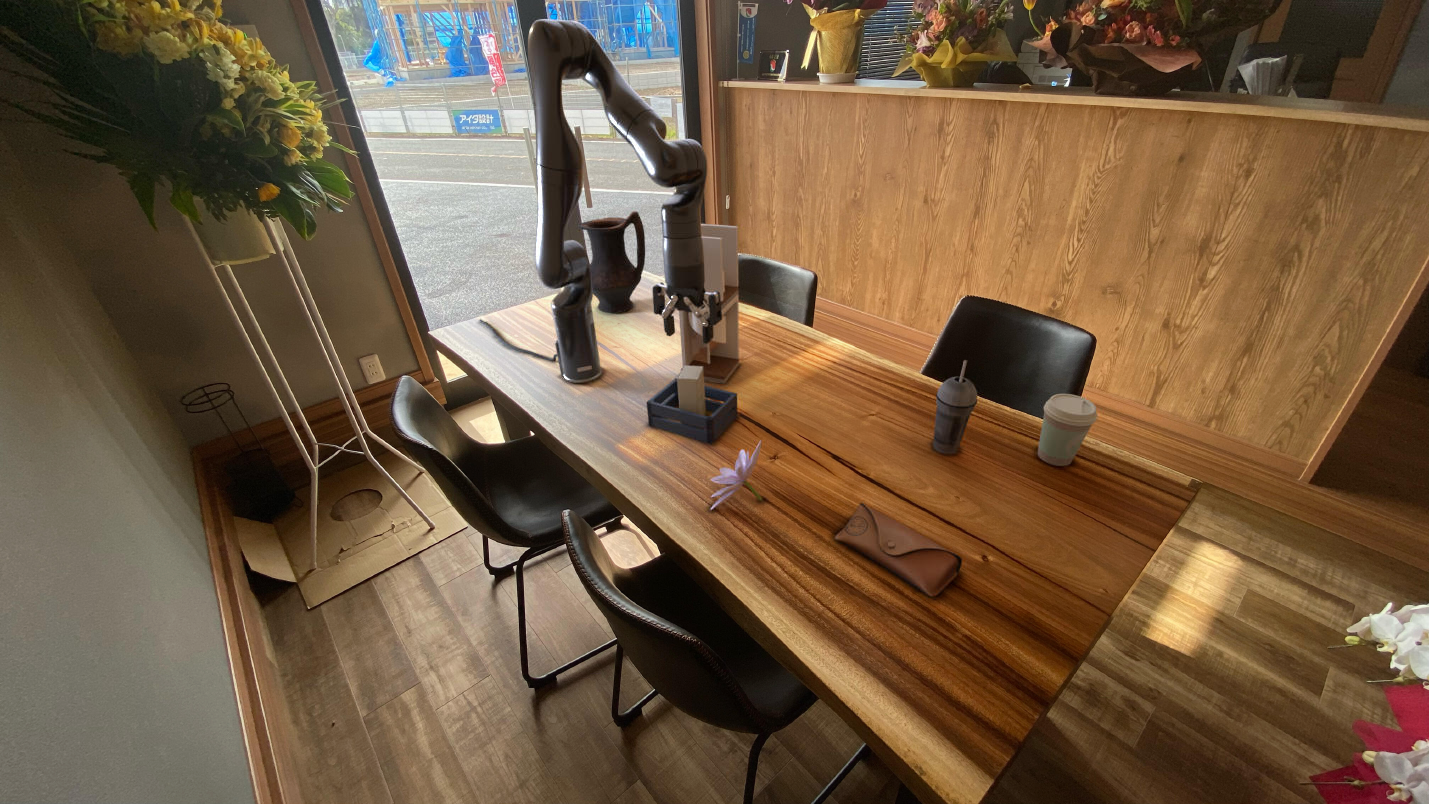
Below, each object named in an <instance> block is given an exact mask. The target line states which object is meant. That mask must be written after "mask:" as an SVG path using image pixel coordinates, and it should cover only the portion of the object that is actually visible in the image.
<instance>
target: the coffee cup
mask: <svg viewBox="0 0 1429 804" xmlns="http://www.w3.org/2000/svg"><path fill="white" fill-rule="evenodd" d="M1043 411H1044V412H1043V419H1042V425H1041V429H1040V430H1041V431H1040V436H1039V442H1038V447H1037V448H1038V449H1037V456H1038V457H1039V459H1040V460H1042V461H1043V462H1045V463H1047V464H1049V465H1052V466H1058V467H1065V466H1069V465H1071V463H1072V462H1073V461H1074V458H1075V457H1076V455H1077V453H1078V451H1079V450H1080V448H1081V445H1082V444H1083V442H1084V440H1085V439H1086V437H1087V435H1088V433H1089V431H1090V430H1091V428H1092V426H1093V424H1095V423H1096V422H1097V419H1098V413H1097V406H1096V405H1095V403H1093V402H1092V401H1090V400H1089V399H1087V398H1085V397H1082V396H1080V395H1075V394H1070V393H1058V394H1057V393H1056V394H1054V395H1052V396H1051V397H1050V398H1049V399H1048V400H1047V401H1046V402H1045V404H1044V405H1043Z"/></svg>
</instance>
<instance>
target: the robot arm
mask: <svg viewBox="0 0 1429 804" xmlns="http://www.w3.org/2000/svg"><path fill="white" fill-rule="evenodd" d="M527 37H528V38H527V54H528V55H527V57H528V67H529V75H530V83H531V92H532V100H533V111H534V129H535V175H536V176H535V177H536V191H537V195H536V196H537V197H536V198H537V199H536V200H537V213H536V214H537V218H536V219H537V222H536V235H535V236H536V237H535V249H534V265H535V271H536V274H537V277H538V279H539V281H540V283H541V284H542V285H543V286H544V287H546V288H547V289H550V290H558V289H560V290H559V291H558V292H557V294H556V295H555V296H554V297H553V298H552V300H551V301H550V307H551V308H550V309H551V314H552V318H553V323H554V329H555V334H556V340H555V342H554V345H555V350H556V353H555V354H553V357H547V356H544V355H541V354H539V353H537V352H534V351H531V350H527V349H523V348H520V347H517V346H514V345H513V344H510V343H508V341H505V339H503V338H502V337H501V336H499V335H498V333H497V332H496V330H495V329H494V328H493V327H492V326H491V325H489V324H488V323H487V322H485V321H484V320H482V319H479V320H478V321H479V322H480V323H481V324H483V325H484V326H485V327H486V328H488V329H489V330H490V331H491V332H492V334H493V336H495V337H496V339H498V340H499V341H500V342H501V344H503V345H505V346H507V347H509V348H510V349H513V350H515V351H518V352H522V353H526V354H529V355H532V356H534V357H537V358H540V359H543V360H547V361H550V362H555V361H556V360H557V361H558V362H557V363H558V366H559V371H560V376H561V377H563V378H564V380H565V381H567V382H568V383H572V384H586V383H590V382H593V381H595V380H597V379H598V378H600V377H601V376H602V373H603V371H602V366H601V359H600V353H599V346H598V339H597V333H596V327H595V319H594V314H593V313H594V312H593V306H592V302H593V298H594V295H593V290H592V279H591V269H590V264H591V261H590V259H589V255H588V253H587V251H586V249H585V248H584V246H583V245H582V244H581V243H580V242H578V241H577V240H573V239H567V240H565V237H566V231H567V228H568V225H569V223H570V220H571V218H572V216H573V214H574V211H575V210H576V208H577V205H578V203H579V201H580V198H581V196H582V191H583V187H584V154H583V150H582V148H581V145H580V143H579V141H578V139H577V137H576V135H575V133H574V131H573V129H572V127H571V126H570V123H569V122H568V119H567V117H566V114H565V111H564V105H563V81H576V80H582V81H584V82H586V83H587V84H588V85H589V86H591V87H592V88H593V89H595V91H596V92H597V93H598V94H599V96H600V98H601V103H602V108H603V110H604V114H605V117H606V119H607V120H608V123H609V124H610V126H611V127H612V128H613V129H614V130H615V131H616V133H618V134H619V136H620V137H621V138H623V140H624V141H625V142H626V143H627V144H628V145H629V146H630V147H631V148H632V149H633V150H634V152H635V154H636V156H637V157H638V160H639V162H640V163H641V166H642V167H643V169H644V171H645V173H646V174H647V176H648V178H649V179H650V180H651V182H654V183H655V184H656V185H658V186H660V187H662V188H665V189H671V188H674V190H673V194H672V195H671V196H670V198H668V199H667V200H666V201H664V202H663V203H662V205H661V207H660V219H661V228H662V258H663V271H664V272H663V273H664V282H662V281H661V282H658V283H656V284H655V285H653V286H652V305H653V310H652V311H653V313H654V315H659V316H661V318H662V320H663V330H664V333H665V334H666V336H667V337H672V336H673V335H674V334H675V332H676V325H675V316H674V315H673V314H674V312H675V311H678V312H679V311H683V310H684V311H687V312H690V313H691V312H693V314H694V315H695V317H696V318H699V320H700V321H701V323H702V324H703V326H702V332H703V343H706V344H707V343H709V342H710V341H711V340H712V339H713V337H714V336H713V325H716V324H717V323H718V322H720V321H721V320H722V310H721V298H720V292H719V291H715V292H714V293H710V292H706V291H705V288H704V282H705V272H704V250H703V241H702V235H701V224H702V218H701V208H702V203H703V198H704V193H705V187H706V183H707V176H708V160H707V159H708V158H707V154H706V152H705V150H704V148H703V147H702V145H701V144H700V143H699V142H698V141H697V140H695V139H692V138H684V139H677V140H673V141H667V140H666V137H667V133H668V129H667V125H666V123H665V121H664V119H663V118H662V117H661V115H659V113H658V112H656V111H655V109H653V108H652V107H651V106H650V105H649V103H647V101H645V100H644V98H642V97H641V96H640V95H639V93H637V92H636V91H635V90H634V89H633V87H632V86H631V85H630V84H629V83H628V81H626V79H625V78H624V76H623V75H622V73H621V72H620V71H619V69H618V68H617V67H616V65H615V64H614V62H613V61H612V59H610V56H609V55H608V54H607V52H606V51H605V50H604V48H603V47H602V46H601V44H600V42H599V41H598V40H597V39H596V37H595V35H593V33H592V32H591V31H590V30H589V29H588V27H586V26H585V25H584V24H582V23H581V22H579V21H576V20H567V19H566V20H564V19H552V18H550V19H548V18H544V19H543V18H542V19H537V20H534V22H533V23H532V24H531V27H529V32H528V36H527ZM664 283H665V284H664ZM666 296H667V297H668V299H669V301H668V303H667V304H666ZM705 299H706V300H707V304H709V308H708V306H707V305H706V303H705V302H704V300H705ZM699 307H701V311H700V310H699V309H698V308H699ZM709 310H710V312H709Z"/></svg>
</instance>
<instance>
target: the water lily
mask: <svg viewBox="0 0 1429 804" xmlns="http://www.w3.org/2000/svg"><path fill="white" fill-rule="evenodd" d="M761 447H762V440H760V441H759V442H758V445H757V446H756V448H755V450H754V451H753V452H752V455H751V457H750V454H749V451H747V452H746V451H745V449H741V450H740V451H739V453H738V455H737V459H736V460H735V462H734V469H732V468H729V467H720V468H719V472H720V474H719V475H716V476H714V477H712V478H710V481H712V482H713V483H715V484H719V485H729V486H725V487H723V488H721V489H719V490H717V491H715V492H714V493H713V494H712V495H711V496H710V498H715V497H719V496H720V497H719V498H718V499H717V500H716V501H715V503H714V504H713V505H712V506H711V507H710V510H709V511H712V510H714V509H715V508H717V507H719V506H721V505H723V504H724V503H726V502H727V501H728V500H730V498H731V497H733V496H734V495H735V494H736V493H737V492H738V491H739V490H740V489H741V488H742V487H743V485H745V486H746V487H747V488H748V489H749V490H750V491H751V492H752V494H753V495H754V496H755V497H756V499H757V500H758V501H759V502H761V501H763V497H762V496H761V495H760V493H759V492H757V490H756V489H755V488H754V487H753V486H752V485H751V484H750V483H749V482H748V481H747V480H749V478H750V477H751V475H752V474H753V472H754V469H755V467H756V464H757V463H758V460H759V457H760V453H761Z"/></svg>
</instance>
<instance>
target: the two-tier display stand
mask: <svg viewBox="0 0 1429 804" xmlns="http://www.w3.org/2000/svg"><path fill="white" fill-rule="evenodd" d="M738 229H739V226H737V225H725V224H710V223H701V235H702V241H703V250H704V272H705V282H704V288H705V291H706V292H710V293H714V292H715V291H719V292H720V298H721V310H722V320H721V321H720V322H718V323H717V324H716V325H713V336H714V337H713V339H712V340H711V341H710V342H709V343H707V344H706V343H703V332H702V326H703V324H702V323H701V321H700V320H699V318H696V317H695V315H694V314H693V312H691V313H690V312H687V311H684V310H683V311H679V310H678V316H679V317H678V318H679V319H678V320H679V329H680V331H679V332H680V333H679V334H680V346H681V363H682V367H683V366H684V365H688V366H703V373H704V382H708V383H709V382H710V383H716V384H722V385H725V384H726V382H727V381H728V380H729V378H730V377H731V376H732V374H733V373H734V372H735V371H736V370H737V368H738V367H739V366H740V323H739V317H740V316H739V313H740V312H739V306H740V305H739V235H738V234H739V230H738ZM704 302H705V303H706V305H707V306H708V308H709V304H707V300H706V299H705V300H704ZM698 309H699V310H700V311H701V307H699V308H698ZM709 312H710V310H709ZM681 370H682V368H681V369H680V371H681Z"/></svg>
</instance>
